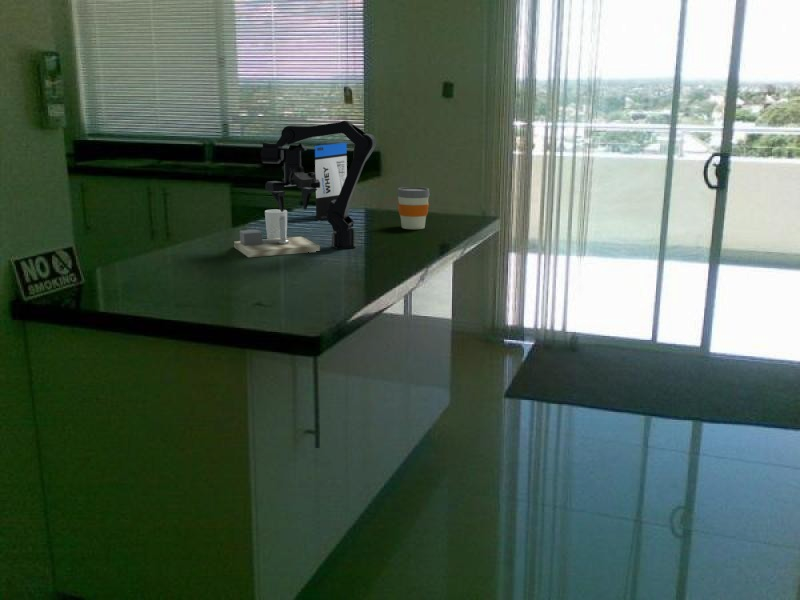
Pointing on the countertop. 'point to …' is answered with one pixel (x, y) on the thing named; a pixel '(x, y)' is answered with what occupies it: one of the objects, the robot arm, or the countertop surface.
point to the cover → (251, 237)
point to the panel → (278, 247)
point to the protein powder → (329, 175)
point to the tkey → (282, 234)
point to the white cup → (274, 223)
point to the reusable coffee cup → (413, 206)
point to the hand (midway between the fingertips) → (293, 210)
